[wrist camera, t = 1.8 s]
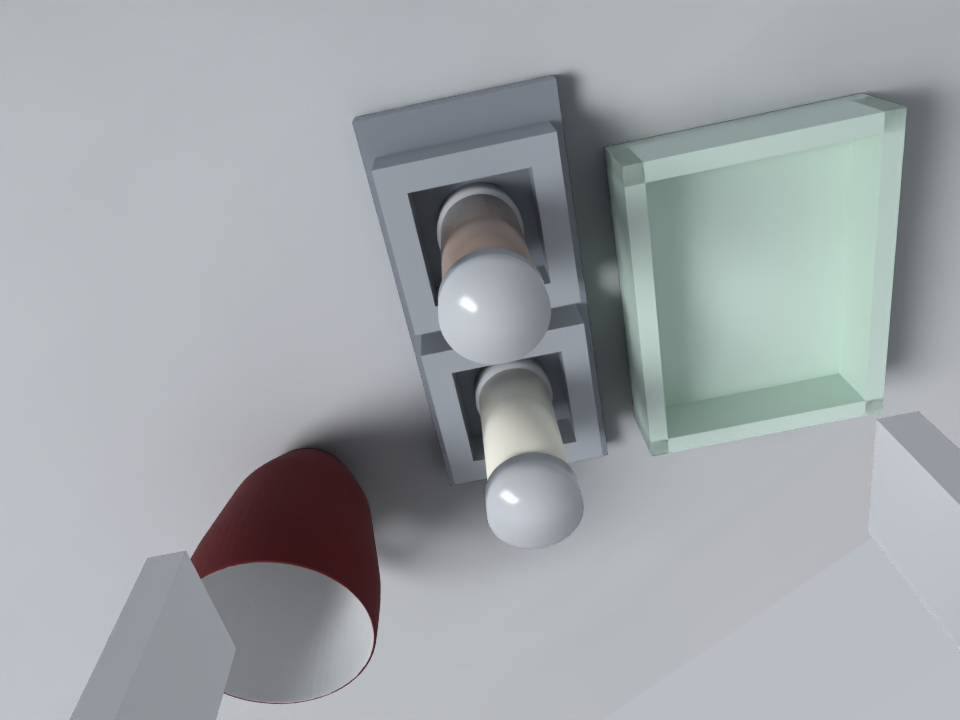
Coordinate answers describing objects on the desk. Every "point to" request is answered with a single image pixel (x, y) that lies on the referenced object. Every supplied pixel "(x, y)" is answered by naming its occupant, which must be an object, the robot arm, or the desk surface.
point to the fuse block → (547, 232)
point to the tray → (758, 269)
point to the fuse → (525, 457)
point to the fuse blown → (488, 277)
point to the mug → (294, 579)
